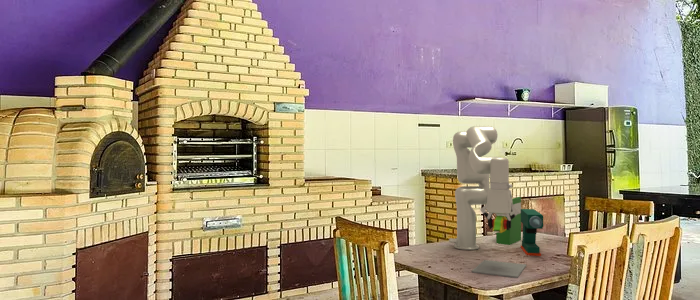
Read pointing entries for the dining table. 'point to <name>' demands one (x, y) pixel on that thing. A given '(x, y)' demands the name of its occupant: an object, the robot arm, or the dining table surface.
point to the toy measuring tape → (498, 225)
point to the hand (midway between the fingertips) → (499, 228)
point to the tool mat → (499, 268)
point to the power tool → (531, 231)
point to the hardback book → (515, 230)
